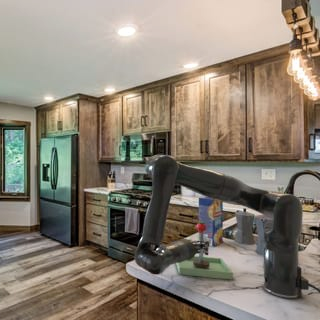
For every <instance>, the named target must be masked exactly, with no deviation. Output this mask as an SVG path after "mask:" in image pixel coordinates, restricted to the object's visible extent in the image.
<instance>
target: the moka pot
mask: <svg viewBox="0 0 320 320" xmlns="http://www.w3.org/2000/svg"><path fill="white" fill-rule="evenodd" d="M254 222H255V226H256V231H257V232H256V233H257V239H256V248H255V251H256V253H257V254H259V255H261V256H264V228H265V224H266V223H268V222H271V223H273V218H270V217H268V216H265V215H263V214H257V215H255V217H254Z"/></svg>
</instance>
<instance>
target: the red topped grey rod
mask: <svg viewBox="0 0 320 320" xmlns="http://www.w3.org/2000/svg"><path fill="white" fill-rule="evenodd" d="M195 227H196V230H197V231H198V241H199V242H200V243H202V242H204V234H203V233H204V232H205V231H206V229H207V227H206V225H205V224H204V222H202V221H199V220H198V223H196V226H195ZM198 256H199V259H194V260H193V265H194V266H196V267H199V268H209V262H208V261H206V260H203V257H204V253H203V252H201V253H199V254H198Z"/></svg>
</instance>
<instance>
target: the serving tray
mask: <svg viewBox="0 0 320 320" xmlns="http://www.w3.org/2000/svg"><path fill="white" fill-rule="evenodd" d="M194 259H199V255H195V256H194V257H193V258H192V259H189V260H186V261H183V262H180V263H175V264H176V267H177V272H178V274H179V275H181V276H192V277H203V278H213V279H222V280H223V279H224V280H232V281H233V280H234V272H233V271H232V270H231V268H230V267H229V266H228V264H227V263H226V262H225V261H224V259H223V258H222V257H211V256H203V260H206V261H208V262H209V268H199V267H196V266H194V265H193V260H194Z"/></svg>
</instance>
